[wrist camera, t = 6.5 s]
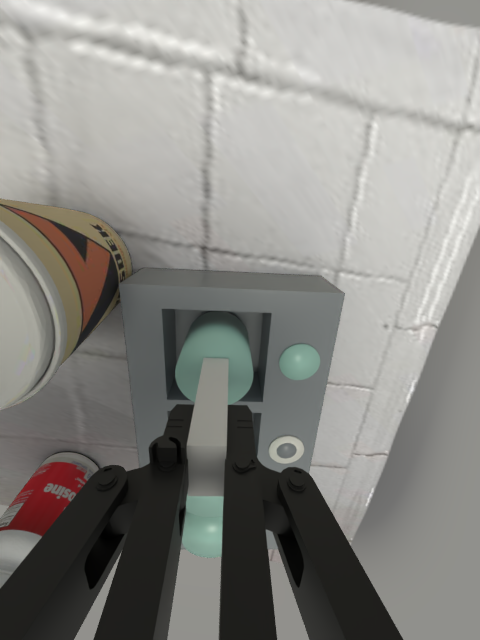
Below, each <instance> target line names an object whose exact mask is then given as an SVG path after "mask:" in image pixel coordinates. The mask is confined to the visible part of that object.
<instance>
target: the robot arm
mask: <svg viewBox="0 0 480 640" xmlns="http://www.w3.org/2000/svg"><path fill="white" fill-rule="evenodd" d="M228 368H229V359H227V358H203V363H202V369H201V374H200V379H199V384H198V389H197V394H196V400H195V405H191V404H177V405H176V406H175V407H174V408H173V409H172V410H171V411H170V414H169V418H168V421H167V424H166V427H165V431H164V434H163V435H162V436H160V437H158V438H156V439H155V440H154V441H152V442H151V444H150V446H149V458H150V463H149V464H147V465H145V466H144V467H141V468H138V469H135V470H131V471H127V472H126V471H125V469H124V468H123V467H121V466H119V465H110V466H106V467H103V468H101V469H99V470H98V471H96V472H95V473H94V474H93V475H92V476H91V477H90V478H89V479H88V481H87V482H86V483H85V484H84V486H83V487H82V488H81V489H80V491H79V492H78V493H77V494H76V495H75V497H74V498H73V499H72V500H71V502H70V503H69V504H68V505H67V507H66V508H65V509H64V510H63V512H62V513H61V514H60V515H59V517H58V518H57V519H56V520H55V521H54V523H53V524H52V525H51V526H50V528H49V529H48V530H47V531H46V533H45V534H44V535H43V536H42V538H41V539H40V540H39V541H38V542H37V544H36V545H35V546H34V547H33V549H32V550H31V551H30V552H29V554H28V555H27V556H26V557H25V559H24V560H23V561H22V562H21V563H20V565H19V566H18V567H17V568H16V570H15V571H14V572H13V573H12V575H11V576H10V577H9V578H8V580H7V581H6V582H5V583H4V585H3V586H2V587H1V588H0V640H74V638H75V636H76V635H77V633H78V631H79V629H80V627H81V625H82V624H83V621H84V620H85V618H86V616H87V614H88V612H89V611H90V608H91V606H92V605H93V603H94V601H95V599H96V597H97V596H98V594H99V592H100V590H101V588H102V586H103V584H104V583H105V581H106V579H107V577H108V575H109V573H110V571H111V570H112V568H113V566H114V564H115V562H116V560H117V558H118V557H119V555H120V553H121V551H122V553H121V556H120V559H119V562H118V565H117V569H116V572H115V575H114V578H113V581H112V584H111V587H110V590H109V594H108V596H107V600H106V603H105V606H104V609H103V612H102V615H101V618H100V622H99V625H98V628H97V631H96V634H95V637H94V640H167V636H168V630H169V622H170V616H171V609H172V603H173V596H174V589H175V583H176V576H177V569H178V562H179V555H180V550H181V543H182V536H183V529H184V523H185V516H186V499H187V493H188V496H224V498H223V521H222V524H223V525H222V555H221V586H220V587H221V589H220V619H219V640H277V635H276V625H275V615H274V605H273V595H272V586H271V577H270V566H269V557H268V547H267V537H266V530H269V531H271V532H273V535H274V538H275V541H276V544H277V547H278V550H279V553H280V556H281V559H282V561H283V564H284V567H285V570H286V573H287V576H288V578H289V582H290V584H291V587H292V590H293V593H294V596H295V599H296V602H297V605H298V608H299V610H300V613H301V616H302V619H303V622H304V625H305V628H306V631H307V634H308V637H309V639H310V640H403V638H402V637H401V635H400V633H399V631H398V630H397V628H396V626H395V624H394V623H393V621H392V619H391V617H390V615H389V613H388V612H387V610H386V608H385V606H384V605H383V603H382V601H381V599H380V597H379V596H378V594H377V592H376V590H375V589H374V587H373V585H372V583H371V581H370V580H369V578H368V576H367V574H366V573H365V571H364V569H363V567H362V565H361V564H360V562H359V560H358V558H357V557H356V555H355V553H354V551H353V549H352V548H351V546H350V544H349V542H348V541H347V539H346V537H345V535H344V533H343V532H342V530H341V528H340V526H339V524H338V523H337V521H336V519H335V517H334V516H333V514H332V512H331V510H330V508H329V507H328V505H327V503H326V501H325V500H324V498H323V496H322V494H321V492H320V491H319V489H318V487H317V485H316V484H315V482H314V480H313V478H312V477H311V476H310V475H309V473H307V472H306V471H304V470H303V469H301V468H297V467H288V468H286V469H283V471H282V472H281V473H280V472H277V471H274V470H271V469H269V468H267V467H265V466H264V465H262V464H261V462H260V461H259V460H258V458H257V455H256V449H255V439H254V429H253V419H252V412H251V410H250V409H249V407H248V406H247V405H228ZM122 549H123V550H122Z"/></svg>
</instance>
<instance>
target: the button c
mask: <svg viewBox="0 0 480 640" xmlns="http://www.w3.org/2000/svg"><path fill="white" fill-rule="evenodd" d="M203 358H227V359H229V368H228V405H230V404H233V403H235V402H237V401H238V400H240V399H241V398H242V397H243V396H244V395H245V394H246V393H247V392H248V390H249V389H250V387H251V385H252V382H253V366H252V359H251V351H250V344H249V337H248V332H247V329H246V327H245V325H244V324H243V323H242V322H241V320H239V319H238V318H237V317H236V316H234V315H232V314H230V313H227V312H221V311H214V312H209V313H205V314H203V315H201V316H200V317H198V318H197V319H196V320H195V321H194V322H193V323H192V325H191V326H190V328H189V331H188V334H187V336H186V339H185V342H184V345H183V348H182V351H181V353H180V356H179V359H178V362H177V365H176V369H175V378H176V382H177V385H178V387H179V389H180V390H181V392H182V393H183V394H184V395H185V396H186V397H187V398H188V399H190V400H191V401H193V402H195V400H196V394H197V389H198V384H199V379H200V374H201V369H202V363H203Z"/></svg>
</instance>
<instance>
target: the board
mask: <svg viewBox="0 0 480 640" xmlns="http://www.w3.org/2000/svg"><path fill="white" fill-rule="evenodd" d="M119 291H120V300H121V308H122V317H123V326H124V335H125V344H126V352H127V361H128V370H129V379H130V388H131V397H132V405H133V414H134V423H135V432H136V441H137V449H138V458H139V467H140V468H141V467H144V466H145V465H147V464H149V463H150V458H149V446H150V444H151V442H152V441H154V440H155V439H156V438H158V437H160V436H162V435H163V434H164V431H165V427H166V424H167V421H168V418H169V414H170V411H171V410H172V409H173V408H174V407H175V406H176V405H177V404H191V405H195V402H193V401H191V400H190V399H188V398H187V397H186V396H185V395H184V394H183V393H182V392H181V390H180V389H179V387H178V385H177V382H176V378H175V369H176V365H177V362H178V359H179V356H180V353H181V351H182V348H183V345H184V342H185V339H186V336H187V334H188V331H189V328H190V326H191V325H192V323H193V322H194V321H195V320H196V319H197V318H198V317H200V316H201V315H203V314H205V313H209V312H214V311H221V312H227V313H230V314H232V315H234V316H236V317H237V318H238V319H239V320H241V322H242V323H243V324H244V325H245V327H246V329H247V332H248V337H249V344H250V351H251V359H252V366H253V382H252V385H251V387H250V389H249V390H248V392H247V393H246V394H245V395H244V396H243V397H242V398H241V399H240V400H238V401H237V402H235V403H233V404H230V405H247V406H248V407H249V409H250V410H251V412H252V419H253V429H254V439H255V449H256V455H257V458H258V460H259V461H260V462H261V464H262V465H264V466H265V467H267V468H269V469H271V470H274V471H277V472H280V473H281V472H282V471H283V469H286V468H288V467H297V468H301V469H303V470H304V471H306V472H307V473H309V470H310V465H311V460H312V455H313V450H314V445H315V440H316V435H317V430H318V425H319V420H320V415H321V410H322V405H323V400H324V395H325V390H326V385H327V380H328V375H329V370H330V365H331V360H332V355H333V350H334V345H335V340H336V335H337V330H338V325H339V321H340V316H341V311H342V306H343V301H344V296H345V293H344V292H342V291H341V290H340V289H338V288H337V287H335V286H334V285H333V284H331V283H330V282H329V281H327V280H326V279H324V278H323V277H322V276H312V275H291V274H269V273H247V272H225V271H203V270H181V269H160V268H142V269H141V270H139V271H137V272H136V273H134V274H133V275H131V276H130V277H128V278H127V279H125V280H124V281H122V282H121V283H119ZM266 537H267V547H268V549H278V547H277V544H276V541H275V538H274V535H273V532H271V531H269V530H266ZM181 549H186V548H185V547H184V546H183V543H181Z"/></svg>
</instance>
